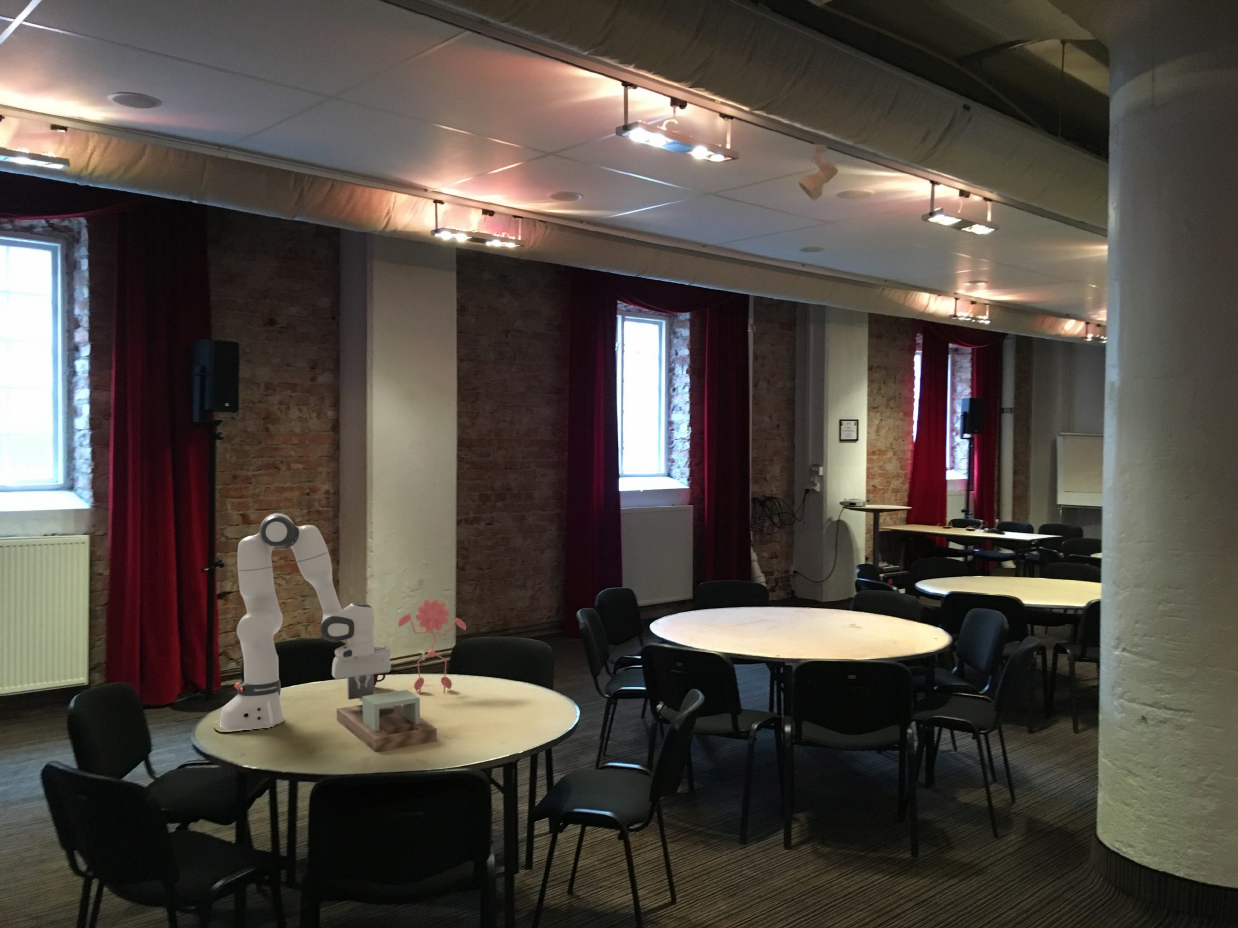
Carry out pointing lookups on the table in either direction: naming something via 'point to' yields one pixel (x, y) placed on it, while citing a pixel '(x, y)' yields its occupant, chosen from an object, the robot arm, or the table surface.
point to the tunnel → (388, 700)
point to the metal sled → (363, 692)
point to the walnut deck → (387, 729)
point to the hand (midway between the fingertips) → (362, 687)
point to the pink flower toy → (432, 618)
